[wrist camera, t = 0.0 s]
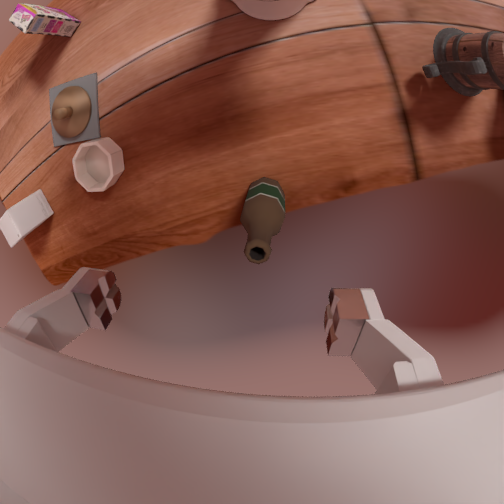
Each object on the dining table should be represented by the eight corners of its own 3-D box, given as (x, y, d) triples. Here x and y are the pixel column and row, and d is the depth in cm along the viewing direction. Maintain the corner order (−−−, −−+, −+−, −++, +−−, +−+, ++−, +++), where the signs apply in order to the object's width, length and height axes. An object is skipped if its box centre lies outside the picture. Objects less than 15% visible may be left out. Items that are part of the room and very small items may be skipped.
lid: (53, 92, 46) (38, 95, 41) (90, 80, 45) (75, 81, 40) (57, 140, 53) (42, 145, 48) (93, 132, 52) (79, 137, 47)
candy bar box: (82, 20, 37) (36, 13, 23) (71, 37, 39) (24, 34, 25) (61, 8, 33) (18, 2, 19) (51, 23, 35) (7, 21, 21)
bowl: (82, 141, 53) (70, 146, 49) (120, 135, 53) (109, 139, 48) (89, 185, 59) (77, 192, 55) (126, 183, 59) (115, 190, 54)
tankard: (470, 25, 29) (524, 17, 12) (495, 90, 36) (551, 102, 19) (397, 37, 36) (447, 18, 19) (429, 109, 43) (486, 123, 26)
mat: (50, 88, 46) (49, 89, 45) (97, 72, 44) (95, 72, 44) (55, 146, 54) (54, 146, 54) (100, 137, 53) (99, 137, 52)
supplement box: (40, 187, 61) (6, 209, 48) (54, 212, 65) (22, 238, 52) (28, 200, 63) (-4, 222, 50) (41, 224, 67) (11, 249, 54)
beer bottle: (249, 211, 60) (233, 279, 40) (245, 177, 56) (223, 230, 36) (285, 209, 59) (288, 276, 39) (282, 174, 55) (284, 226, 35)
